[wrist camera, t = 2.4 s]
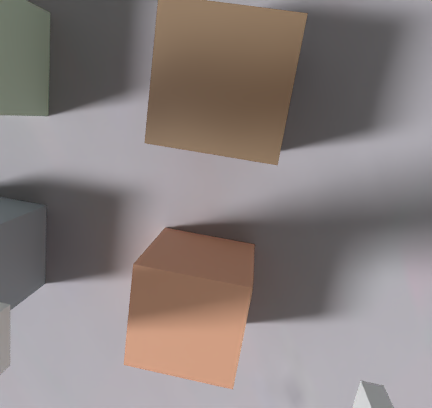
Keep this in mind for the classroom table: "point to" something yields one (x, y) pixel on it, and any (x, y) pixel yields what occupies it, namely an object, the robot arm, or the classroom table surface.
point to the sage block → (24, 58)
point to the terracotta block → (190, 306)
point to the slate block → (21, 249)
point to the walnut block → (223, 78)
